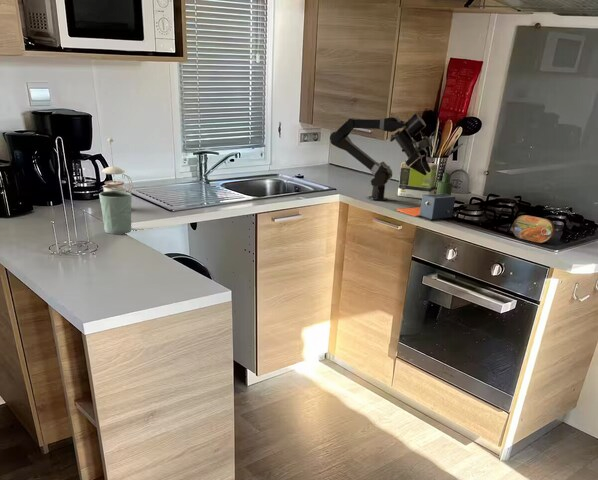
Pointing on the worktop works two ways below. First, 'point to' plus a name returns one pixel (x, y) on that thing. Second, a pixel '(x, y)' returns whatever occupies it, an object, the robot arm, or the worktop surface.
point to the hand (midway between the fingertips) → (428, 173)
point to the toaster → (437, 206)
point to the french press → (113, 171)
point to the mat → (411, 211)
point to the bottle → (445, 185)
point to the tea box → (416, 181)
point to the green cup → (116, 211)
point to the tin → (533, 228)
